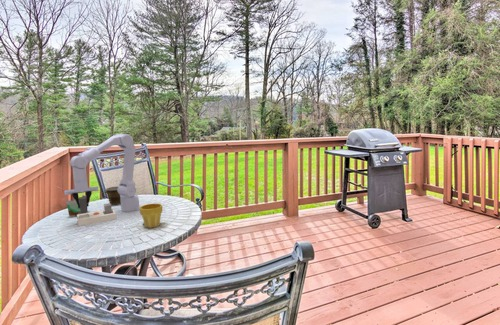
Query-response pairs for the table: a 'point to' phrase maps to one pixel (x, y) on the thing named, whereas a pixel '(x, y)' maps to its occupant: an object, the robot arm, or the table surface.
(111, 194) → the ceramic cup
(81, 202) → the dark grey square prism
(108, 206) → the charcoal plug
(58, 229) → the table surface
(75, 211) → the food container
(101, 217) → the power strip
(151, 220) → the plant pot
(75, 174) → the robot arm
